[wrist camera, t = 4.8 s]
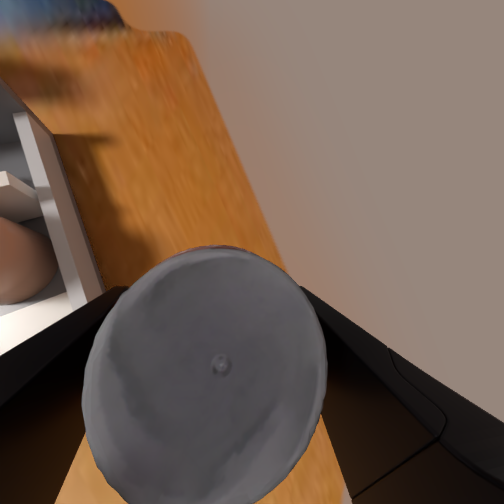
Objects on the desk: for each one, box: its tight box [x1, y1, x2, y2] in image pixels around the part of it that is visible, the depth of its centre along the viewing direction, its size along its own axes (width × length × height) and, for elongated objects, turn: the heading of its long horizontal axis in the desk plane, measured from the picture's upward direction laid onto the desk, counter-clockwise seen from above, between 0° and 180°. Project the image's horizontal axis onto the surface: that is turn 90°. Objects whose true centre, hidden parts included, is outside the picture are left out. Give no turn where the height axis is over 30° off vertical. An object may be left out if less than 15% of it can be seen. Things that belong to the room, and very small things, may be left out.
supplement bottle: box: [82, 245, 328, 504], centre depth 8 cm, size 6×6×11 cm
